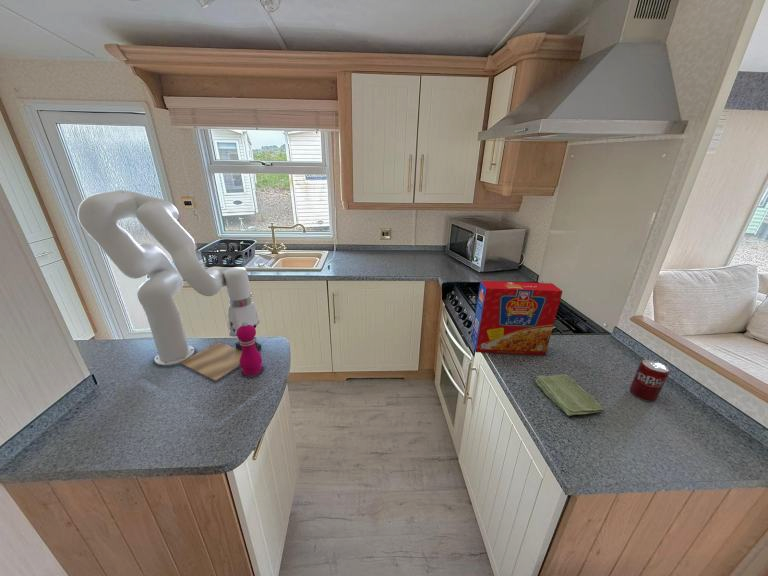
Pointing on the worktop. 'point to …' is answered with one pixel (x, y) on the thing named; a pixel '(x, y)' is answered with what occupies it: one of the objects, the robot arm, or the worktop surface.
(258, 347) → the eraser
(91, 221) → the robot arm
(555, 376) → the washcloth
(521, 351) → the pasta box
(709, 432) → the worktop surface
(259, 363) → the pepper mill
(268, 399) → the worktop surface
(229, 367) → the cutting board
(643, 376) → the soda can
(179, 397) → the worktop surface
